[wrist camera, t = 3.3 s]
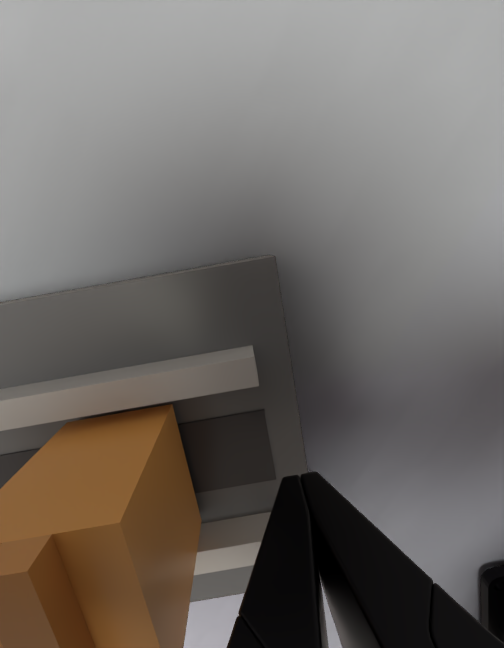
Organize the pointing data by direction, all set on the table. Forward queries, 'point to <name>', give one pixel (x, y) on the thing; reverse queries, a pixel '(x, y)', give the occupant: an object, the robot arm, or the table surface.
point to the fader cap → (100, 537)
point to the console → (168, 389)
